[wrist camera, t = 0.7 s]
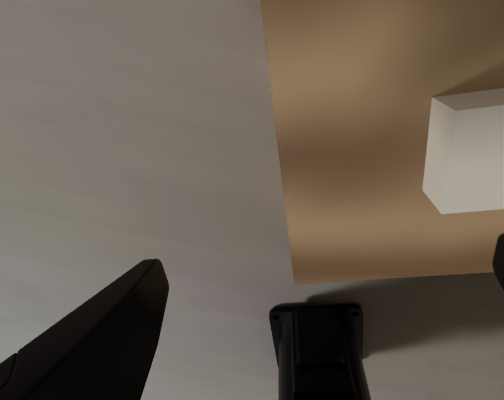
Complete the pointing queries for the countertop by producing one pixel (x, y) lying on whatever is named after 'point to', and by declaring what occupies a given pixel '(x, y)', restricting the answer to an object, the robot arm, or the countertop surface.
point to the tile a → (466, 152)
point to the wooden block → (375, 131)
